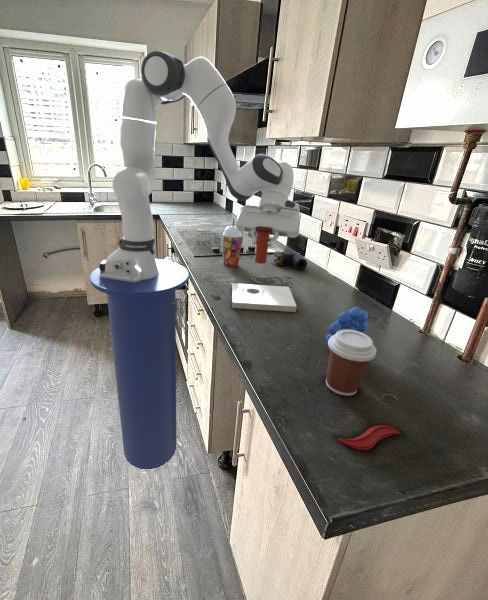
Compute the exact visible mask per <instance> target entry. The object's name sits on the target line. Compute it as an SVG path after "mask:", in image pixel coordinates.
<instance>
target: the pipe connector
mask: <svg viewBox="0 0 488 600" xmlns="http://www.w3.org/2000/svg"><path fill="white" fill-rule="evenodd" d="M273 253H274V254H273V257H274V258H273V261H272V262H273V263H274V264H275V265H276V266H283V265H285V266H286V265H287V266H293V267H294V268H295V269H296V270H298V271H303V270H305V269H306V268H307V266H308V262H307V260H306V259H305V258H304V257H302V255H300V254H299V253H297V252H296V251H294V249H292V248H287V249H286V250H285V251H284V252H273Z"/></svg>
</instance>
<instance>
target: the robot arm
mask: <svg viewBox="0 0 488 600" xmlns="http://www.w3.org/2000/svg"><path fill="white" fill-rule="evenodd" d="M140 73H141V78H134V79H131V80H128V82H127V83H126V84H125V87H124V91H123V94H122V95H123V96H122V102H121V113H120V141H119V142H120V143H119V144H120V148H121V151H122V157H123V166H124V167H122V168H121V169H120V170H119V171H117V173H116V174H115V176H114V177H113V178H112V179H113V180H112V190H113V192H114V194H115V197H116V199H117V204H118V207H119V212H120V215H121V224H122V236H121V237H120V239H118V241H117V245H118V248H117V249H116V250H114V251H113V252H112V253H111V254H109V255H108V256H107V258H106V259H102V260H101V261H100V263H99V266H98V267H99V269H100V277H102V278H108V279H115V280H122V281H129V282H138V281H141V280H146V279H150V278H154V277H156V276H157V275H158V274H159V270H158V267H157V264H156V259H157V258H156V247H157V246H156V238H155V235H154V216H153V213H152V209H151V204H150V203H151V202H150V195H151V194H152V193H153V191H154V189H155V186H156V162H155V161H156V159H155V157H156V156H155V143H156V130H157V129H156V128H157V115H158V114H157V113H158V108H159V106H160V105H167V104H172V103H173V104H174V103H177V102H181V101H182V100H184V98H185V97H187V98H189V99H190V100H191V102H192V104H193V105H194V107H195V109H196V110H197V112H198V113H199V115H200V117H201V119H202V122H203V125H204V128H205V136H206V140H207V143H208V145H209V148H210V150H211V152H212V154H213V156H214V159H215V161H216V162H217V164H218V167H219V168H220V172H222V175H223V177H224V179H225V180H224V181H225V183H226V186H227V189H228V192H229V193H230V194H231V196H232V197H233V198H235V199H236V200H238V201H243V202H245V201H248V200H249V199H250V198H252V197H253V196H254V195H255V194H256V193H258V192H261V198H260V200H259V205H249V204H246V205H245V206H242V207H241V208H240V209H239V211H238V216H237V218H236V220H235V226H236V227H237V229H238V231H241V232H244V233H245V232H246V233H251V237H252V239H251V244H252V245H257V235H258V231H256V230H255V229H256V227H257V226H263V227H271V228H273V230H272V232H270V233H269V236H272V237H271V238H269V239H268V243H267V245H268V247H273V246H274V243H275V242H276V241H278V239H279V237H283V238H284V237H285V238H291V239H295V238H297V237H298V236H299V234H300V228H301V215H300V212H301V211H300V210H301V209H300V204H299V203H297V202H295V201H293V200H290V199H289V197H290V195H291V192H292V189H293V185H294V178H295V177H294V176H295V175H294V170H293V167H292V166H291V165H290V164H289V163H287V162H286V161H283V160H282V161H276V160H275V159H274V158H273V157H271V156H270V155H268V154H265V153H258V154H256V155H254V156H253V157H252V158H251V159H249V160H248V161H246V163H244V165H242V166H241V167H240V165H239V163H238V161H237V159H236V157H235V155H234V153H233V151H232V148H231V146H230V141H229V137H230V131H231V128H232V126H233V123H234V120H235V119H236V113H237V102H236V99H235V97H234V96H235V95H234V94H233V92H232V90H231V89H230V87H229V86H228V84H227V83H226V80H225V79H224V78H223V76H222V74H221V73H220V72H219V71H218V69H217V68H216V67H215V65H213V63H211V61H210V60H209V59H208V58H207V57H204V56H198V57H195V58H192V59H191V60H190V61H188V63H186V64H184V63H183V61H182V60H181V59H180V58H178V57H176V56H173V55H172V54H170V53H168V52H166V51H164V50H163V51H162V50H153V51H150V52H149V53H148V54H147V55H145V57H144V59H143V60H142V62H141V68H140Z"/></svg>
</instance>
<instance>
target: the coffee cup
mask: <svg viewBox="0 0 488 600" xmlns="http://www.w3.org/2000/svg"><path fill="white" fill-rule="evenodd" d="M327 345H328V348H329V355H328V362H327V370H326V377H325V385H326V386H327V387H328V389H329V390H331V392H333V393H335V394H338V395H339V396H341V395H342V396H346V397H348V396H353V395H355V394H357V393H358V389H359V387H360V384H361V382H362V379H363V377H364V375H365V373H366V370H367V368H368V365H369V363H370V361H372V360H374V359H375V358H376V356H377V352H378V351H377V348H376V347H375V345H374V342H373V339H372V338H371V337H370V336H369V335H367V334H366V333H363V332H359V331H355V330H348V329H346V330H340V331H338V332H337V333H336V334H335V335H333V336H331V337H330V339H329V340H328V344H327Z"/></svg>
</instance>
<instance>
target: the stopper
mask: <svg viewBox="0 0 488 600" xmlns="http://www.w3.org/2000/svg"><path fill="white" fill-rule="evenodd" d="M255 230H256V231H258V233H257V234H256V237H257V244H255V245H256V247H255V256H254V262H255V263H256V264H261V265H262V264H266V263H267V258H268V257H267V256H268V249H269V246H268V245H267V243H268V239H270V235H269V233H270V232H272V230H273V228H271V227H263V226H257V227H256V229H255Z"/></svg>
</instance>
